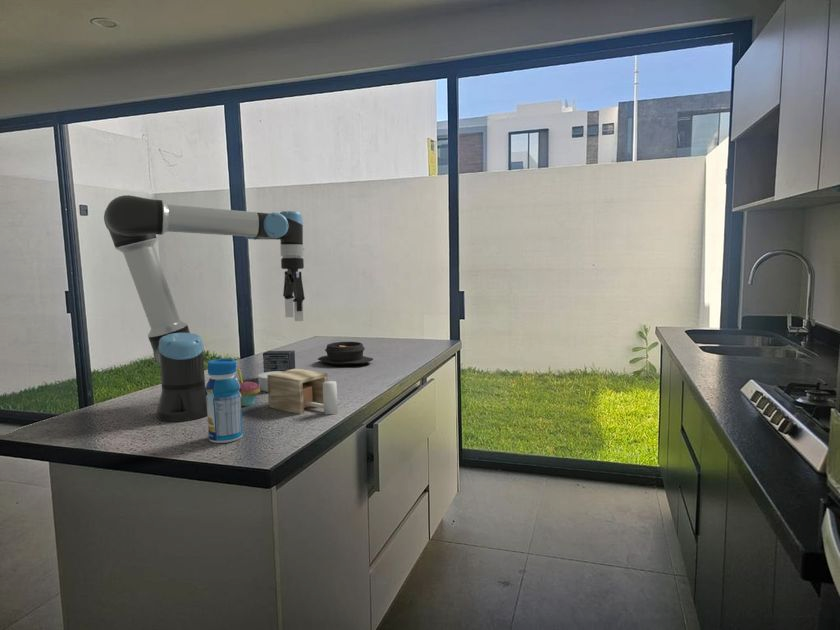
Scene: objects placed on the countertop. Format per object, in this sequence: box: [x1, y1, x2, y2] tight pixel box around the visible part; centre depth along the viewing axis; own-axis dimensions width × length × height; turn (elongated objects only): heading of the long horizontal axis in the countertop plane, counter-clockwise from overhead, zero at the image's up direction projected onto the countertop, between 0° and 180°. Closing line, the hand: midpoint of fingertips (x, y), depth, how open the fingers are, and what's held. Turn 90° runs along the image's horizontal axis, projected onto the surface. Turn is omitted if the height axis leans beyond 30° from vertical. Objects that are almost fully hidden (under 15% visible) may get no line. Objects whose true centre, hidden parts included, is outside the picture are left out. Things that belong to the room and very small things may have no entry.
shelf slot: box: [267, 367, 329, 415], centre depth 167 cm, size 11×14×10 cm
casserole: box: [317, 341, 374, 366], centre depth 234 cm, size 25×19×8 cm
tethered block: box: [303, 380, 339, 415], centre depth 164 cm, size 6×18×9 cm, turn 55°
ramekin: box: [257, 371, 283, 393], centre depth 190 cm, size 11×11×5 cm
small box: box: [262, 350, 296, 373], centre depth 206 cm, size 11×6×10 cm, turn 84°
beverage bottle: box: [205, 358, 244, 444], centre depth 138 cm, size 8×8×20 cm
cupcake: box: [237, 367, 261, 407], centre depth 171 cm, size 9×8×12 cm
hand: (294, 319), depth 189 cm, fingers open, 13 cm apart
